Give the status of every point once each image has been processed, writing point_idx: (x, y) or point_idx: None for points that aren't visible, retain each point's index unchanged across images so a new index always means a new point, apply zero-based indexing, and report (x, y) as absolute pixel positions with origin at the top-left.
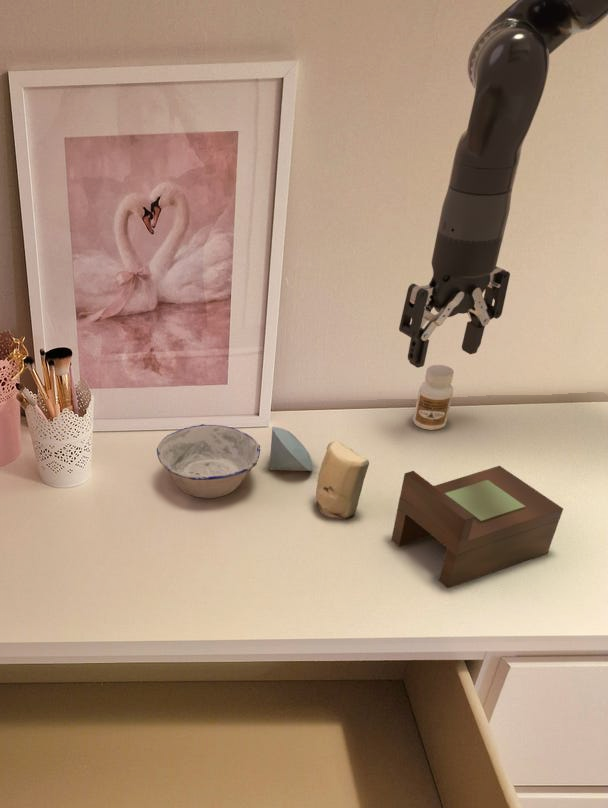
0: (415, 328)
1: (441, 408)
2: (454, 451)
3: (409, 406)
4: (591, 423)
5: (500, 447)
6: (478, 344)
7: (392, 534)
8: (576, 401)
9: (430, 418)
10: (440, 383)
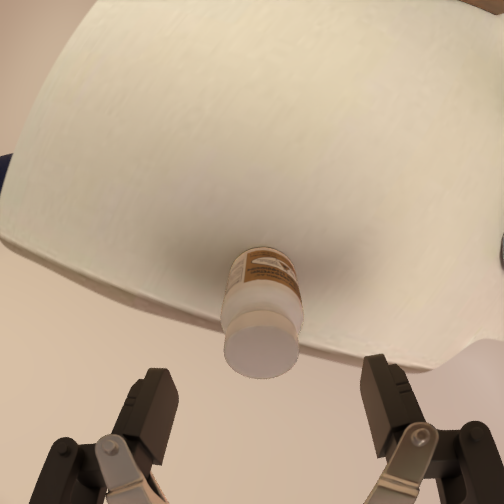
0: (485, 451)
1: (265, 268)
2: (280, 157)
3: None
4: (11, 176)
5: (177, 138)
6: (141, 386)
7: (501, 13)
8: (9, 244)
9: (285, 263)
10: (278, 314)
